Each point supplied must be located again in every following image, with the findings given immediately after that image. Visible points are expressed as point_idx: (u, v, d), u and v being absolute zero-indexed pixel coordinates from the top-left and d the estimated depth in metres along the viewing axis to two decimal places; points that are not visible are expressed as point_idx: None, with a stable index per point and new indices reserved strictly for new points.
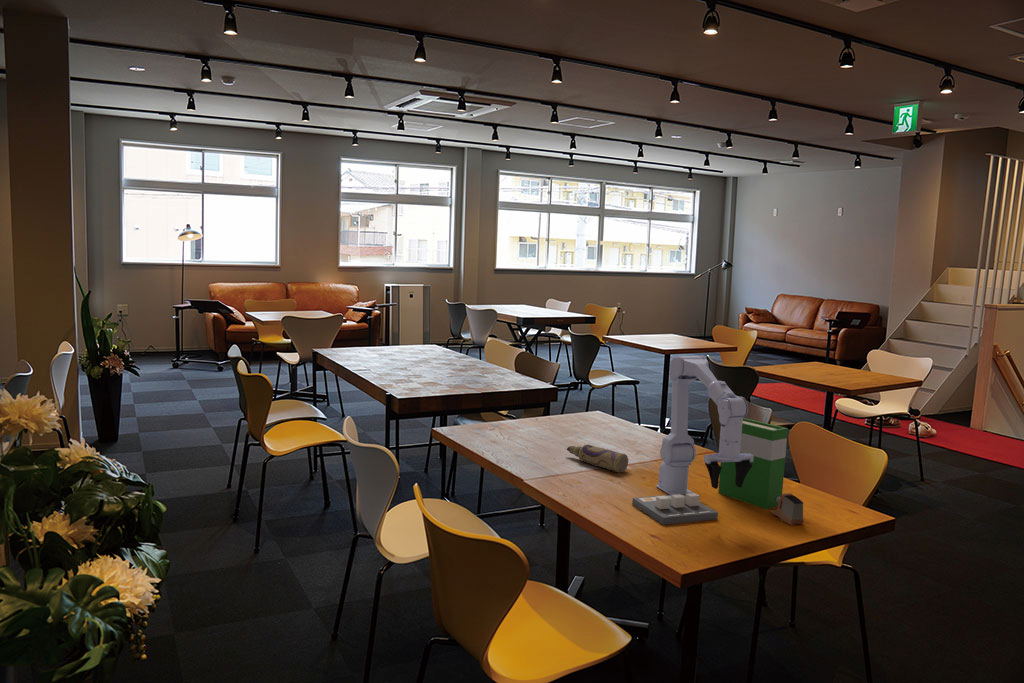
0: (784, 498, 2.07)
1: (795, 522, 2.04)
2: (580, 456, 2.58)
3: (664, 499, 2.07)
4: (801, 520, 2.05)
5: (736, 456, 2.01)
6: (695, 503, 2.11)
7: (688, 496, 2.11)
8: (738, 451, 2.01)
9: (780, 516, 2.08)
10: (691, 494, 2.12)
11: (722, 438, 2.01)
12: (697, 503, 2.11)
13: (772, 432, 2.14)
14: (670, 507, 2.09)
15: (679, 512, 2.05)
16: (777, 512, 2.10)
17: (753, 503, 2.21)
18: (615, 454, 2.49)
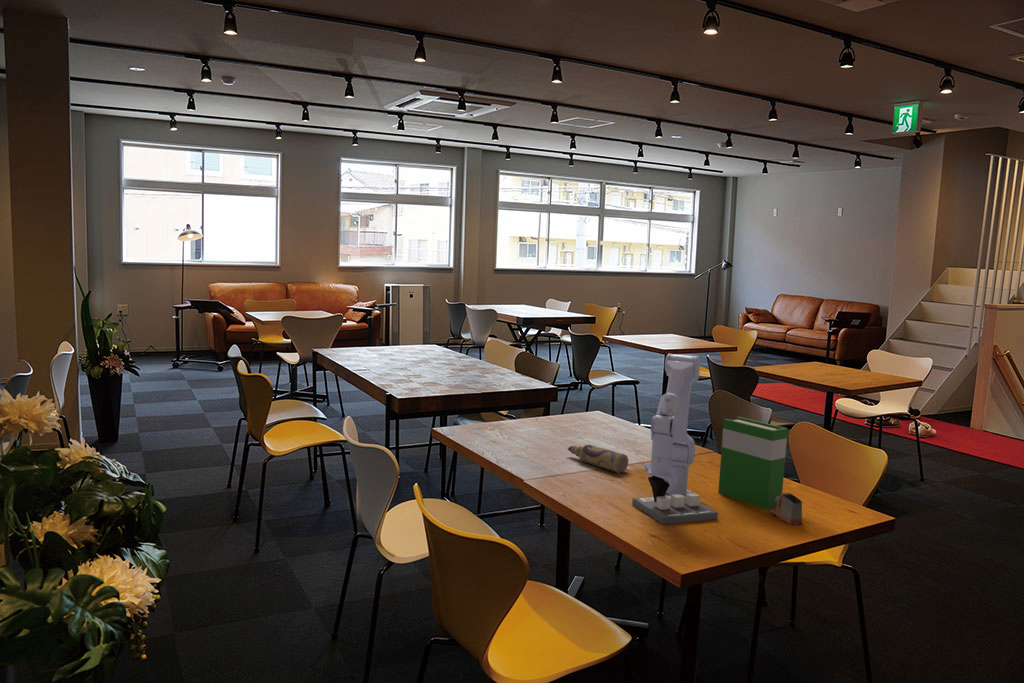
0: (783, 497, 2.08)
1: (794, 521, 2.05)
2: (580, 456, 2.58)
3: (664, 499, 2.06)
4: (800, 519, 2.05)
5: (653, 471, 2.08)
6: (695, 503, 2.11)
7: (688, 496, 2.11)
8: (655, 467, 2.07)
9: (779, 515, 2.09)
10: (691, 494, 2.12)
11: None
12: (697, 503, 2.11)
13: (772, 432, 2.14)
14: (670, 507, 2.09)
15: (679, 512, 2.05)
16: (776, 511, 2.10)
17: (753, 503, 2.21)
18: (615, 454, 2.49)
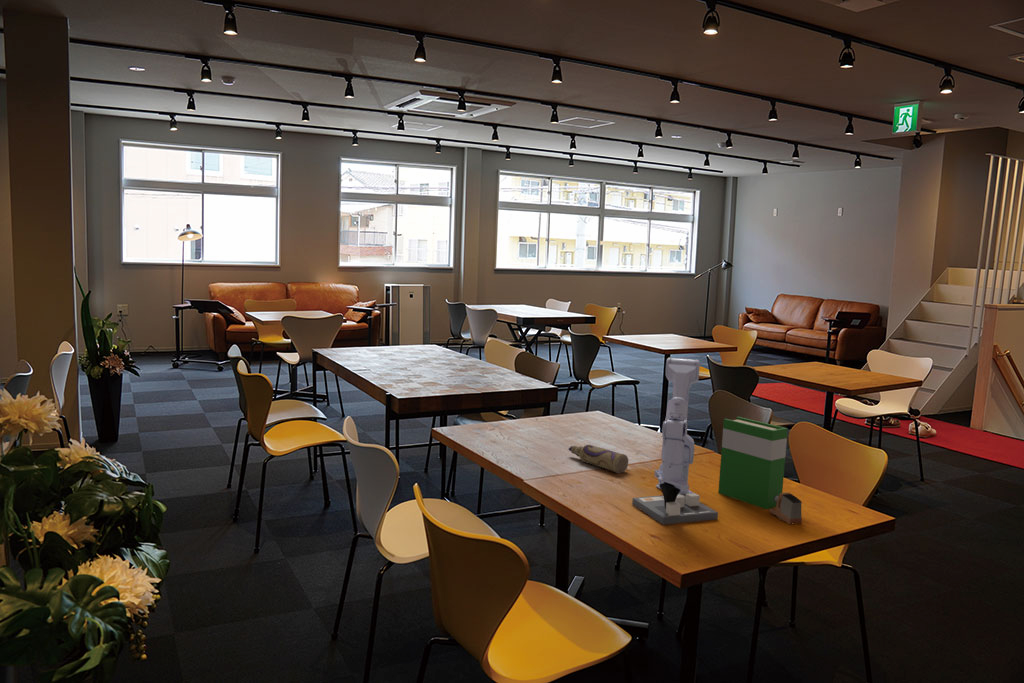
0: (782, 497, 2.08)
1: (793, 521, 2.05)
2: (581, 456, 2.58)
3: (674, 505, 2.02)
4: (799, 519, 2.06)
5: (663, 477, 2.02)
6: (695, 503, 2.11)
7: (688, 496, 2.11)
8: (666, 473, 2.02)
9: (778, 515, 2.09)
10: (691, 494, 2.12)
11: (662, 459, 2.04)
12: (697, 503, 2.11)
13: (772, 432, 2.14)
14: None
15: None
16: (775, 511, 2.10)
17: (753, 503, 2.21)
18: (615, 454, 2.48)
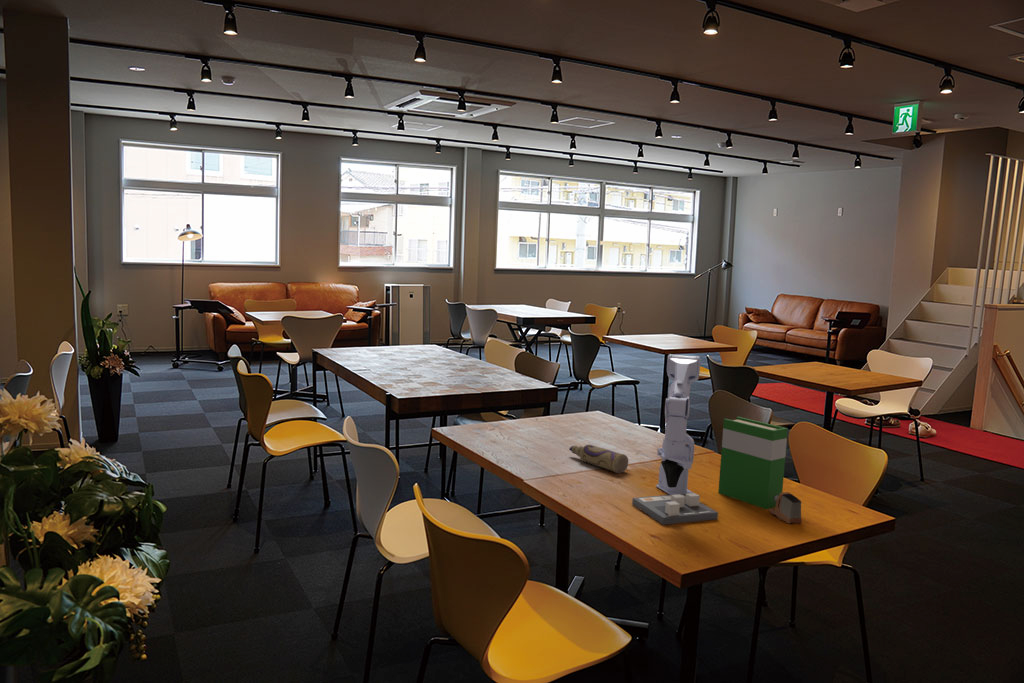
0: (782, 497, 2.08)
1: (793, 521, 2.05)
2: (581, 456, 2.58)
3: (673, 504, 2.02)
4: (799, 519, 2.06)
5: (666, 454, 2.02)
6: (695, 503, 2.11)
7: (688, 496, 2.11)
8: (668, 450, 2.01)
9: (778, 515, 2.09)
10: (691, 494, 2.12)
11: (665, 436, 2.03)
12: (697, 503, 2.11)
13: (772, 432, 2.14)
14: None
15: (679, 512, 2.05)
16: (775, 511, 2.11)
17: (753, 503, 2.21)
18: (614, 454, 2.48)
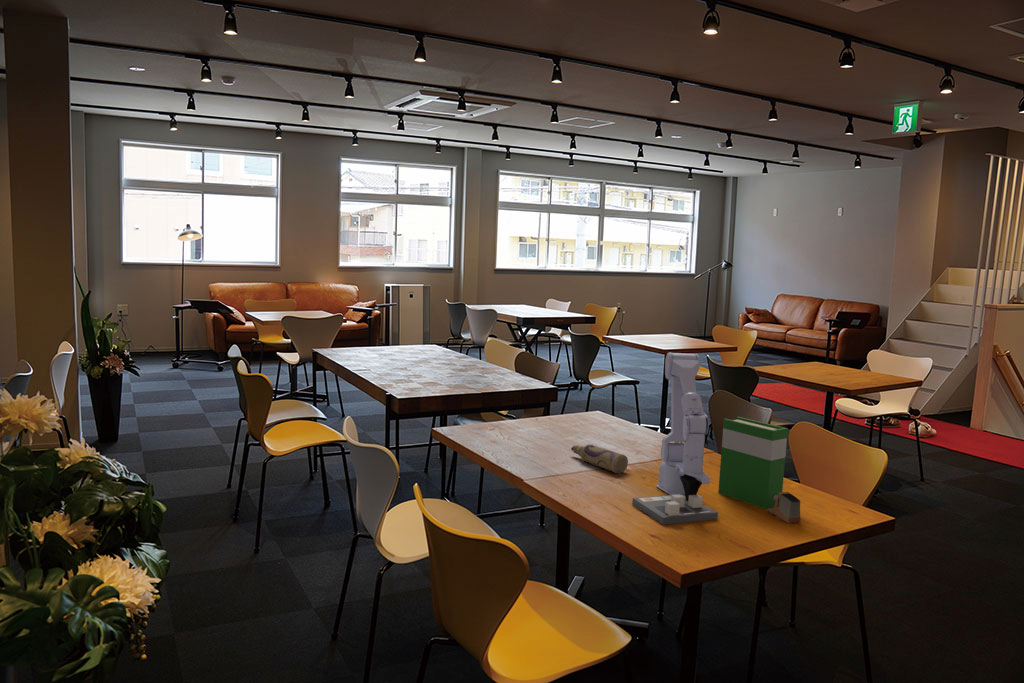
0: (781, 496, 2.09)
1: (792, 520, 2.06)
2: (582, 456, 2.58)
3: (673, 504, 2.02)
4: (798, 518, 2.06)
5: (685, 469, 2.10)
6: (698, 505, 2.09)
7: (691, 498, 2.09)
8: (687, 466, 2.09)
9: (777, 514, 2.10)
10: (694, 496, 2.10)
11: (684, 453, 2.11)
12: (700, 505, 2.09)
13: (772, 432, 2.14)
14: None
15: (679, 512, 2.05)
16: (774, 510, 2.11)
17: (753, 503, 2.21)
18: (614, 455, 2.48)
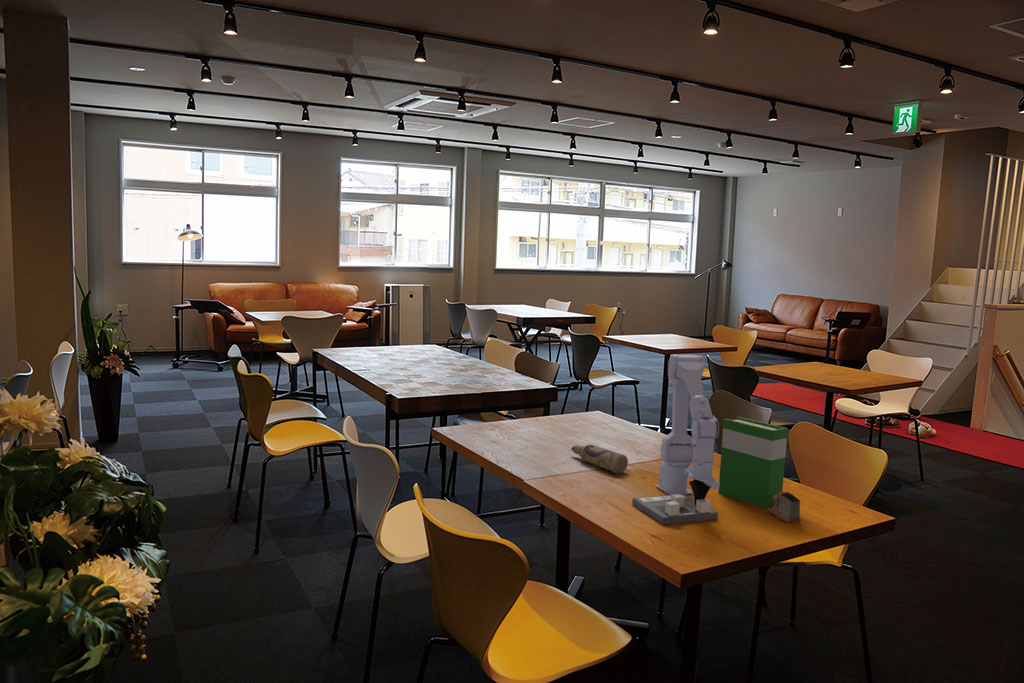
0: (781, 496, 2.09)
1: (792, 520, 2.06)
2: (582, 456, 2.58)
3: (673, 504, 2.02)
4: (798, 518, 2.06)
5: (694, 474, 2.06)
6: (706, 509, 2.05)
7: (699, 502, 2.06)
8: (696, 470, 2.05)
9: (777, 514, 2.10)
10: (702, 500, 2.06)
11: (693, 458, 2.06)
12: (708, 509, 2.06)
13: (772, 432, 2.14)
14: None
15: (679, 512, 2.05)
16: (774, 510, 2.11)
17: (753, 503, 2.21)
18: (614, 455, 2.48)
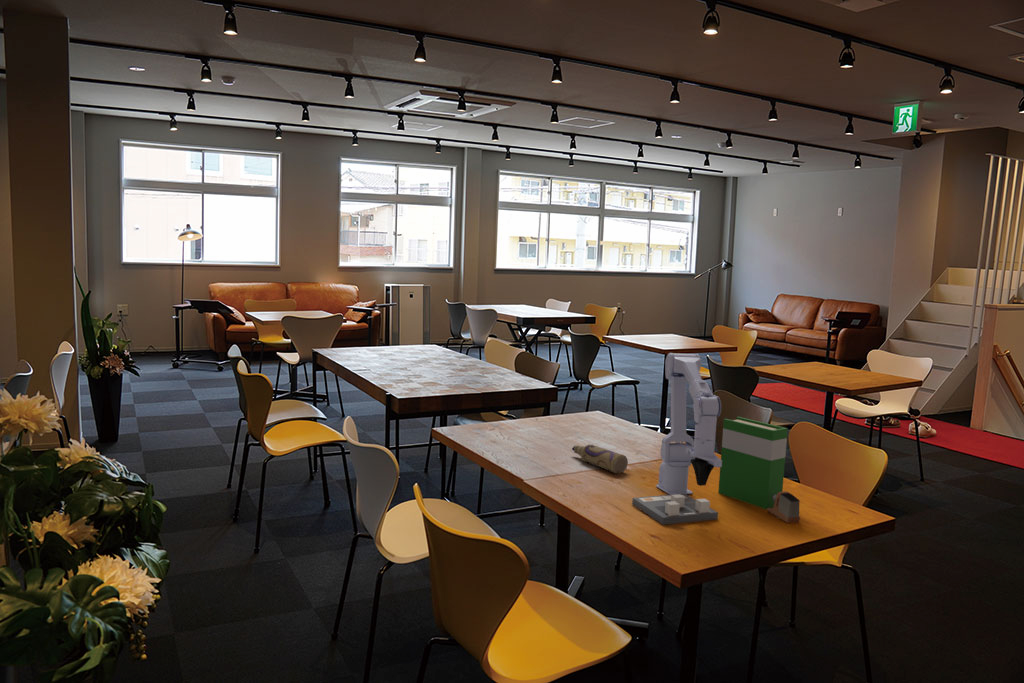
0: (780, 496, 2.09)
1: (791, 520, 2.06)
2: (582, 456, 2.58)
3: (673, 504, 2.02)
4: (797, 518, 2.06)
5: (696, 453, 2.05)
6: (705, 509, 2.06)
7: (698, 502, 2.06)
8: (699, 449, 2.04)
9: (776, 514, 2.10)
10: (701, 500, 2.07)
11: (695, 436, 2.05)
12: (707, 509, 2.06)
13: (772, 432, 2.14)
14: None
15: (679, 512, 2.05)
16: (773, 510, 2.11)
17: (753, 503, 2.21)
18: (613, 455, 2.48)
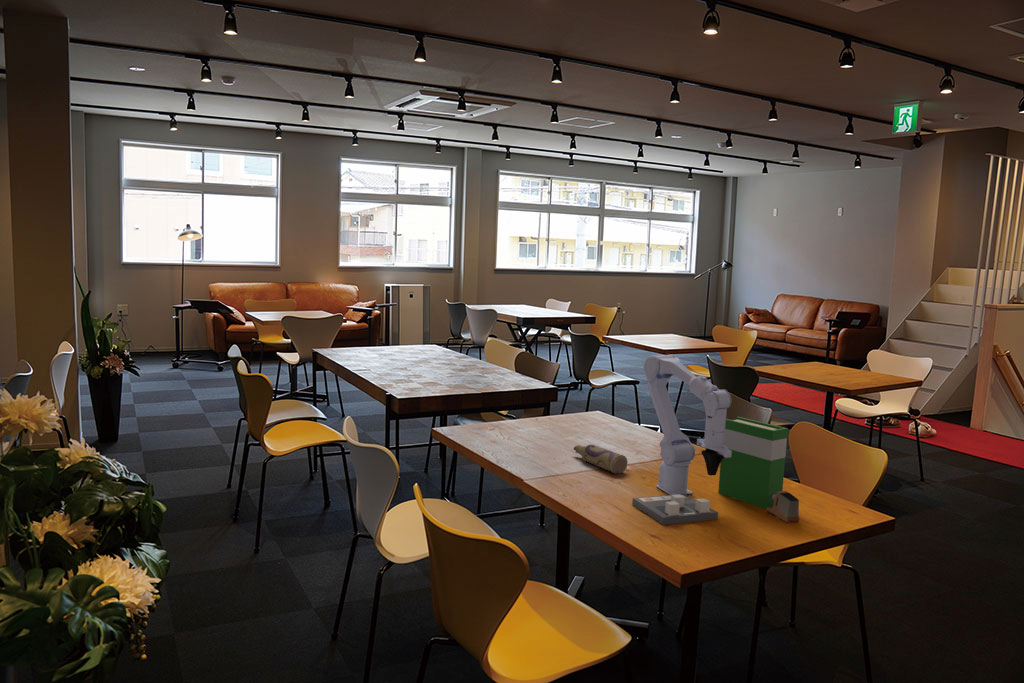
0: (780, 495, 2.10)
1: (791, 519, 2.06)
2: (583, 456, 2.59)
3: (673, 504, 2.02)
4: (797, 517, 2.07)
5: (707, 444, 2.15)
6: (705, 509, 2.06)
7: (698, 502, 2.06)
8: (709, 440, 2.14)
9: (776, 513, 2.10)
10: (701, 500, 2.07)
11: (709, 429, 2.14)
12: (707, 509, 2.06)
13: (772, 432, 2.14)
14: None
15: (679, 512, 2.05)
16: (773, 510, 2.12)
17: (753, 503, 2.21)
18: (613, 455, 2.48)
